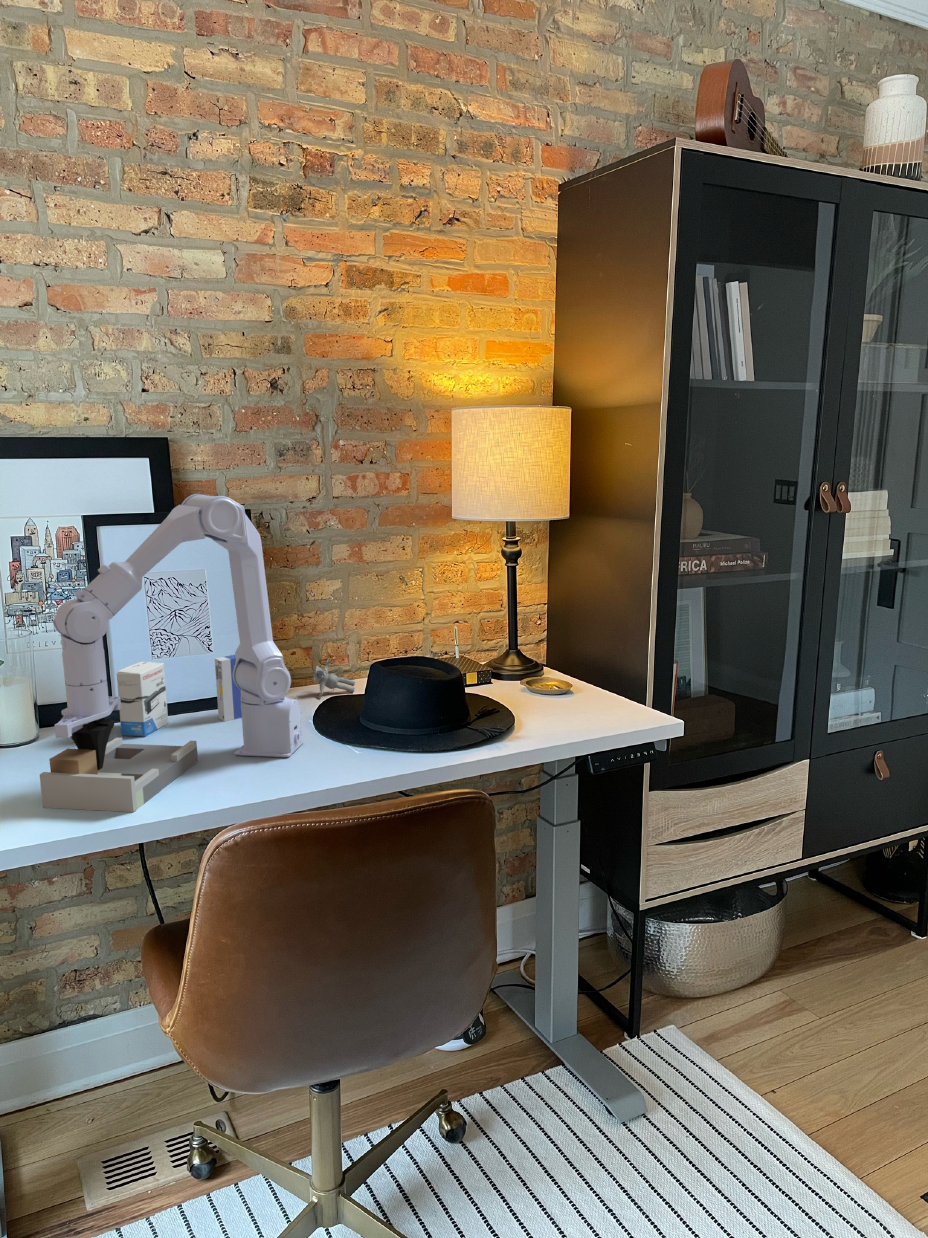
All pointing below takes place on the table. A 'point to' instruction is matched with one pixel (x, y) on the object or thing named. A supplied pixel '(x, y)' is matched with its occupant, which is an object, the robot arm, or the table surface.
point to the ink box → (142, 698)
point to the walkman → (227, 689)
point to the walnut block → (74, 762)
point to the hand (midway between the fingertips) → (94, 769)
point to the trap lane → (119, 777)
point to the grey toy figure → (331, 680)
